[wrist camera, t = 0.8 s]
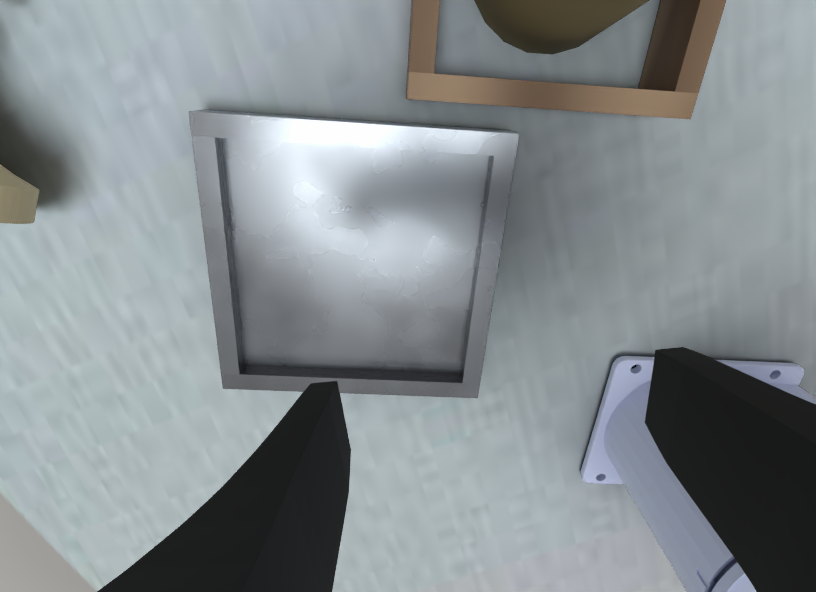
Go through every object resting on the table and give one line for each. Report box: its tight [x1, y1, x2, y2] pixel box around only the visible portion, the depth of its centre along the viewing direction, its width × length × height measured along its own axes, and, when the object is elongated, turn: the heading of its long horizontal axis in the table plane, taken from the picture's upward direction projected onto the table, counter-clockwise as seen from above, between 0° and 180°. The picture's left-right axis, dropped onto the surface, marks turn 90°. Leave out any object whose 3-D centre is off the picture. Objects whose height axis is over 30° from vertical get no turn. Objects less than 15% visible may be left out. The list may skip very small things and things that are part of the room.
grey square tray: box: [189, 110, 519, 398], centre depth 19 cm, size 12×12×2 cm
